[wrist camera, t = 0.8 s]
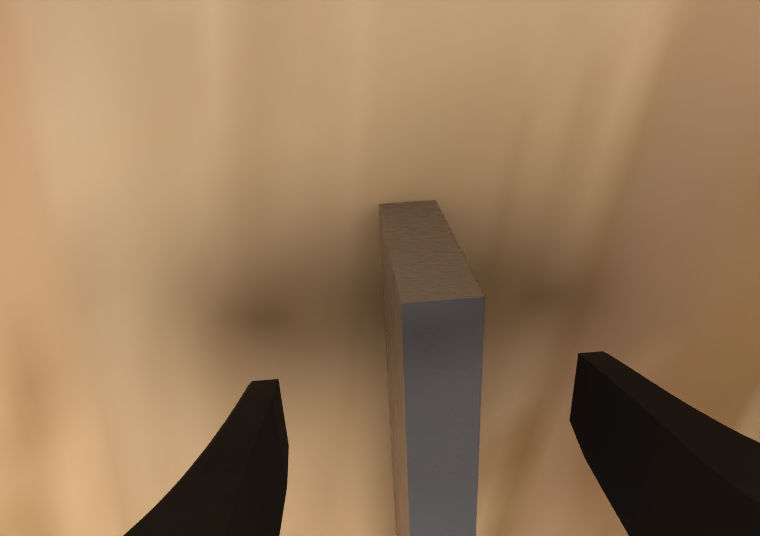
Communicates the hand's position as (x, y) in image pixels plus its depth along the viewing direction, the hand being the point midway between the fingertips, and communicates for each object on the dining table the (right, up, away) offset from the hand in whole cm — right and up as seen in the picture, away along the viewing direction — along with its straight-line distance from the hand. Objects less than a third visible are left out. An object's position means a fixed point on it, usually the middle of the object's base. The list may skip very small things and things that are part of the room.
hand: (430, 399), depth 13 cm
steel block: (0, -7, +8) cm, 11 cm away
